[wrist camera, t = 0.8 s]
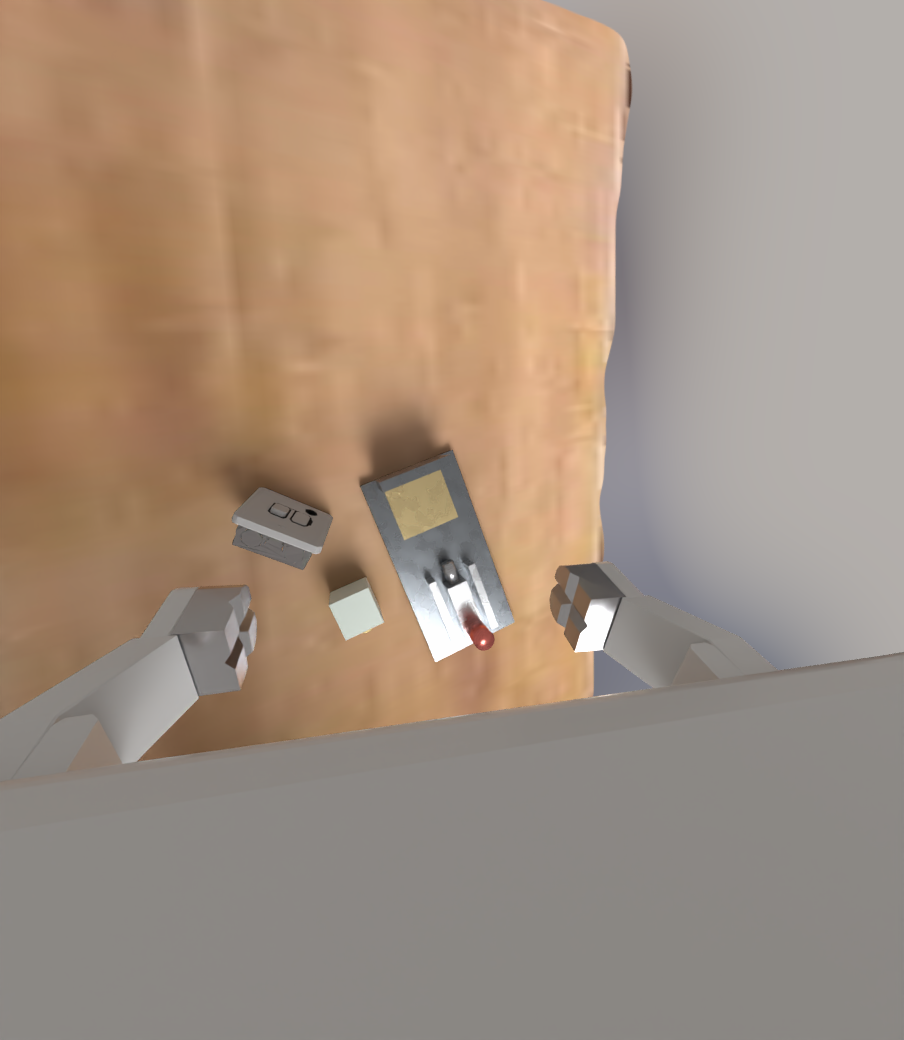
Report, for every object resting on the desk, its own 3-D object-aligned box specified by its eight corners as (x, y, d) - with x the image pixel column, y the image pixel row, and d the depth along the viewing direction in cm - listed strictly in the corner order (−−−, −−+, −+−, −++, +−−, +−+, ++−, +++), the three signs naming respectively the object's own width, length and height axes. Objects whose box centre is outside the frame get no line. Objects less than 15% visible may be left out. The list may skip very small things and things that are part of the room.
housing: (383, 615, 54) (387, 630, 49) (348, 631, 53) (349, 647, 48) (366, 576, 52) (368, 587, 48) (330, 592, 51) (328, 605, 47)
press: (511, 619, 59) (533, 639, 52) (434, 658, 57) (446, 684, 50) (450, 450, 53) (465, 448, 46) (360, 485, 50) (362, 489, 44)
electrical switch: (334, 515, 50) (329, 534, 41) (318, 551, 51) (309, 577, 42) (260, 485, 47) (238, 498, 39) (244, 522, 48) (218, 544, 39)
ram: (479, 623, 56) (498, 645, 50) (462, 631, 56) (478, 655, 49) (453, 555, 54) (469, 569, 47) (434, 564, 53) (448, 579, 46)
